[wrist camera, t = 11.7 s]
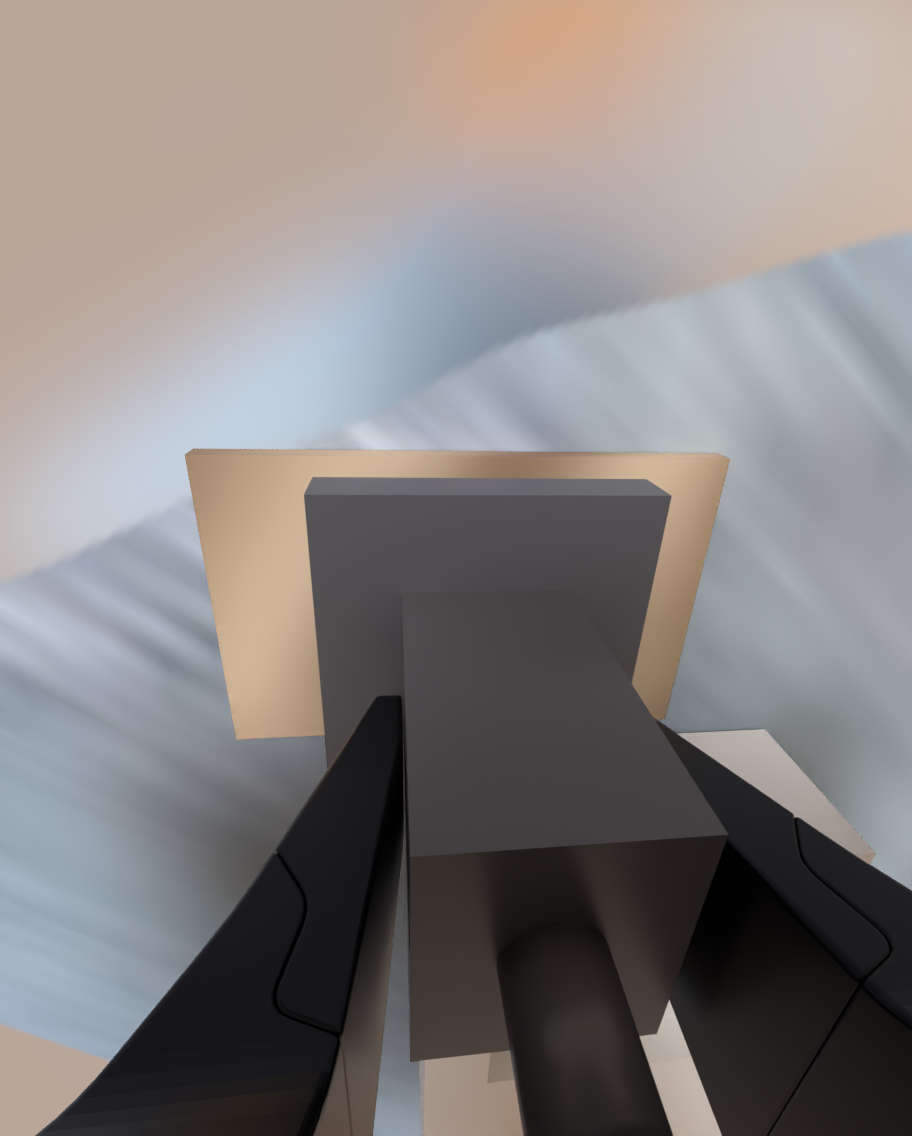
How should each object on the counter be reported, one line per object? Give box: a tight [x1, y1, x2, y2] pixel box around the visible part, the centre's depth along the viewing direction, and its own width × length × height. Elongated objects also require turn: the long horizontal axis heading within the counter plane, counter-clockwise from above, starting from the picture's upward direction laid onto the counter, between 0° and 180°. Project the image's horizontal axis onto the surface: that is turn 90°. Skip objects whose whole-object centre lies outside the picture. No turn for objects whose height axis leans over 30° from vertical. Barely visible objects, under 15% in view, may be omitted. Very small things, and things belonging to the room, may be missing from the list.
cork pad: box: [185, 449, 730, 739], centre depth 13 cm, size 11×7×1 cm, turn 88°
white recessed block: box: [419, 729, 876, 1136], centre depth 16 cm, size 10×14×4 cm
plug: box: [304, 477, 728, 1136], centre depth 8 cm, size 6×7×8 cm
